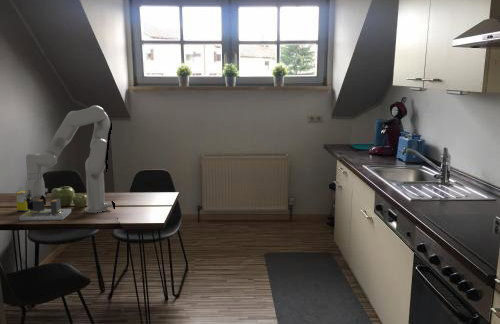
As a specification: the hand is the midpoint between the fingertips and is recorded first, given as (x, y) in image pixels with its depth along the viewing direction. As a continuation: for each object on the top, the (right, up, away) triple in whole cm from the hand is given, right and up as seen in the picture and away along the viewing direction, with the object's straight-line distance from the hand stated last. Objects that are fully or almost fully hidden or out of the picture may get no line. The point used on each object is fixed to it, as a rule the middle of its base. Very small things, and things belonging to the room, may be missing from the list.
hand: (36, 206), depth 237 cm
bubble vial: (+6, -4, -3) cm, 8 cm away
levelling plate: (+5, -5, 0) cm, 7 cm away
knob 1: (0, -3, 0) cm, 3 cm away
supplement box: (-12, -3, +11) cm, 17 cm away
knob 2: (+10, -3, +1) cm, 10 cm away
